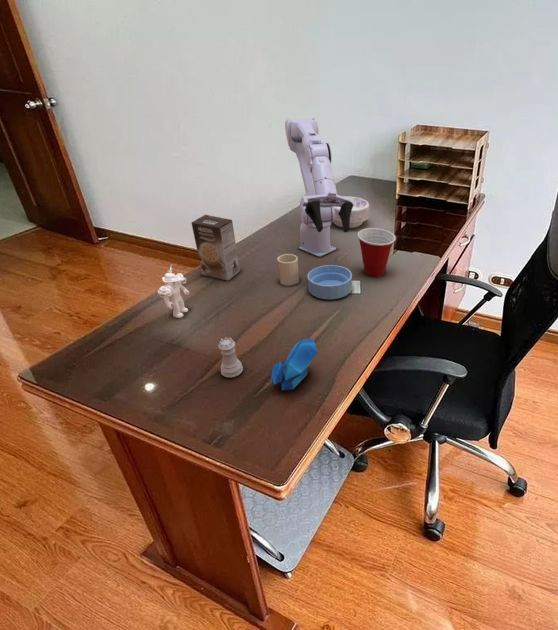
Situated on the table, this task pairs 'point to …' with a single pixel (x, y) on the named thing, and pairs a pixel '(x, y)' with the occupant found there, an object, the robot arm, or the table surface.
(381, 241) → the plastic cup
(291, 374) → the crystal
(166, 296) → the flower shoulder figurine
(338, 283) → the bowl
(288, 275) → the cup
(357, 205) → the paper bowls
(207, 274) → the coffee box
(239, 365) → the rook chess piece
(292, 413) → the table surface
